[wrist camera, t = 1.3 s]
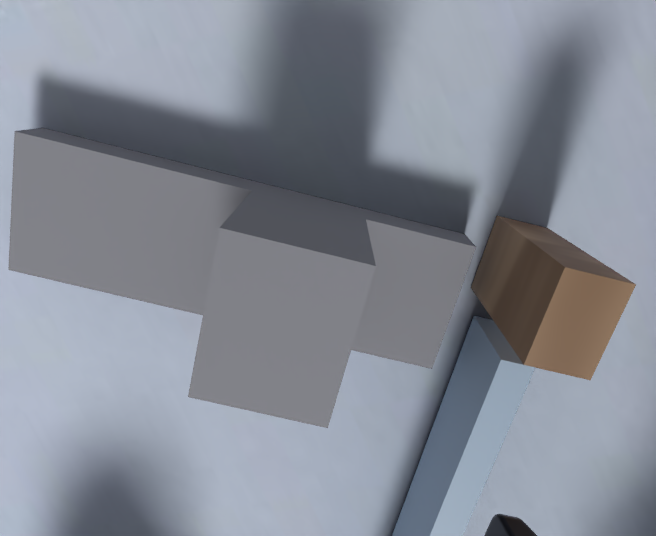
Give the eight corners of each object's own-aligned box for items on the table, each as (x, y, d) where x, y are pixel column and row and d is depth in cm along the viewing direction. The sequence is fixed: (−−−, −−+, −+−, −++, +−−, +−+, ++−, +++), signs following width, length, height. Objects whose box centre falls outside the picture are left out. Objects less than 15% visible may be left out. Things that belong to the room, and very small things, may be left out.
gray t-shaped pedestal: (462, 232, 20) (526, 303, 13) (423, 344, 21) (462, 458, 15) (47, 127, 19) (-113, 146, 12) (39, 253, 20) (-107, 331, 14)
